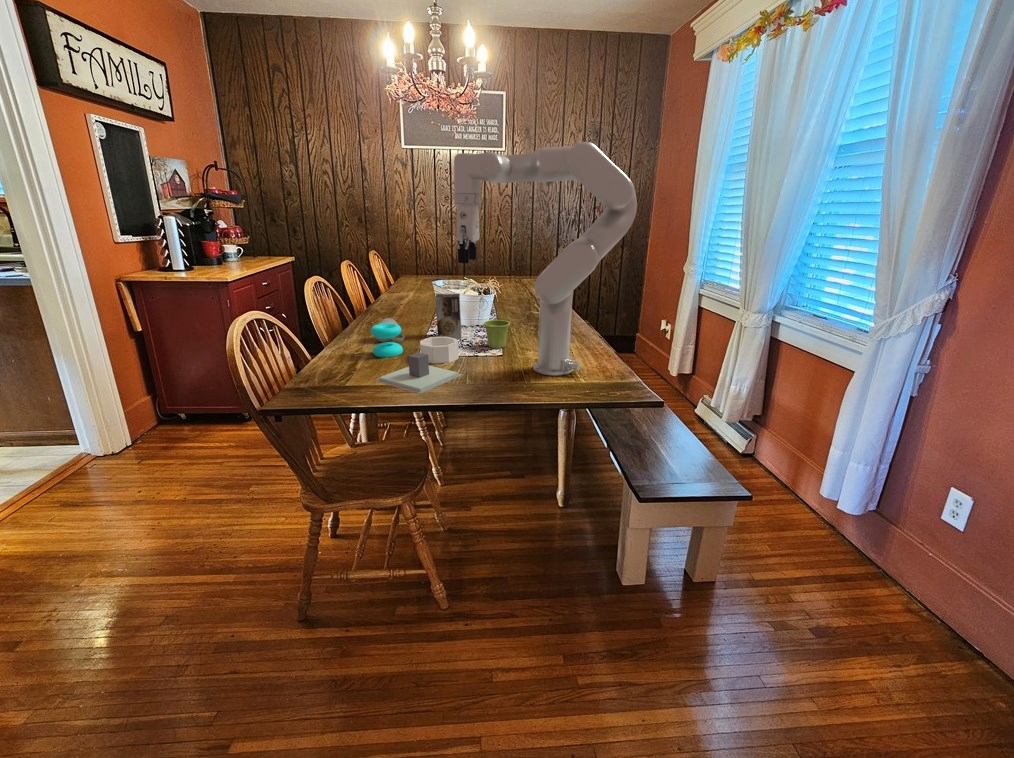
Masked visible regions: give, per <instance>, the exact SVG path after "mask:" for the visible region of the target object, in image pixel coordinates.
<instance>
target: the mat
mask: <svg viewBox="0 0 1014 758" xmlns="http://www.w3.org/2000/svg"><path fill="white" fill-rule="evenodd" d="M462 376H463V374H462V373H458V375H457V376H455V377H453V378H450V379H448V380H446V381H443V382H441V383H439V384H437V385H434V386H432V387H430V388H428V389H425V390H423V391H417V390H414V389H410V388H407V387H403V386H400V385H396V384H392V383H389V382H385V381H382V380H380V377H378V378H376V379H374V381H375V382H379V383H383V384H386V385H389V386H393V387H397V388H400V389H403V390H407V391H409V392H414V393H418V394H423V393H426V392H427V391H430V390H432V389H435V388H437V387H440V386H441V385H444V384H445V383H447V382H450V381H452V380H454V379H456V378H459V377H462Z"/></svg>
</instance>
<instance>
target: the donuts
mask: <svg viewBox="0 0 1014 758" xmlns="http://www.w3.org/2000/svg"><path fill="white" fill-rule="evenodd" d="M377 324H378V323H377ZM377 324H374V325H373V326H371V328H370V333H371V335H372V336H373V337H374V336H375V337H377V338H393V337H396V338H397V336H398V335H399V334H400V333H402V328H401V326H400V325H399V324H398V323H397V324H398V325H397V324H392V323H384V324H378V325H377ZM375 337H374V338H375ZM398 337H399V336H398ZM403 351H404V349H403V346H402V345H401V344H399V343H397V342H394V341H392V342H391V341H390V342H389V341H387V342H380V343H378V344H376V345H375V346H374V347H373V348H372V354H373V356H374V357H377V358H383V359H384V358H390V357H391V358H392V357H396V356H399V355H401V354H403Z"/></svg>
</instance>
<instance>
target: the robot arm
mask: <svg viewBox="0 0 1014 758" xmlns="http://www.w3.org/2000/svg"><path fill="white" fill-rule="evenodd" d="M453 165H454V166H453V175H454V176H453V177H454V178H453V183H454V184H453V185H454V190H453V191H454V194H453V195H454V199H453V200H454V201H453V202H454V206H456V207H457V209H456V211H457V212H456V239H457V263H458V264H469V263H470V260H477V241H479V240H480V214H479V207H481V189H482V187H481V183H482V181H484V182H488V183H494V184H510V183H529V182H531V183H532V182H534V183H535V182H536V183H545V182H546V183H548V182H563V181H578V182H579V183H580V184H582V186H584V188H586V189H587V191H588V192H590V193H591V194H592V195H593V196H594V197H595V198H596V199H597V200H598V201H599V202H601V204H602V205H603V206H605V208H604V210H603V212H602V213H601V214H600V216H599V217H598V218H597V219H596V220H595V221H594V222H593V223H592V224H591V226H589V228H588V229H587V230H586V231H585V232H584V233H582V235H581V236H579V237H578V238H577V239H575V240H574V241H572V242H570V243H569V244H568V245H567V246H566V247H565V248H564V249H563V250H562V251H561V252H560V253H559V254H558V255H557V256H556V257H555V258H554V259H553V260H552V261H551V262H550V263H549V264H548V265H547V266H546V268H544V269H543V271H542V272H540V274H539V275H538V276H537V277H536V279H535V283H534V293H535V295H536V297H537V299H538V300H539V315H538V316H539V317H538V344H537V345H538V346H537V347H538V351H537V352H538V354H537V361H536V362H534V363H533V364H532V370H533V371H534V372H536V373H538V374H540V375H546V376H565V375H569V374H571V373H572V372H573V371H574V370H575V371H579V370H580V369H581V365H580V361H576V360H575V361H574V360H573V355H571V354H570V347H571V345H570V343H571V328H572V327H571V324H572V323H571V322H572V310H573V298H574V297H573V296H574V290H575V289H576V288H577V287H578V286H579V285H581V283H583V281H584V280H586V279H587V278H588V277H589V275H591V274H592V273H593V271H595V269H596V268H597V266H598V265H599V263H600V261H601V260H603V258H604V257H605V256H606V255H607V254H608V253H609V252H610V251H611V250H612V249H613V248H614V247H615V246H616V245H617V244H618V243H619V242H620V240H621V239H622V238H623V237H625V235H626V234H627V232H628V231H629V229H630V228H631V227H632V225H633V223H634V221H635V218H636V214H637V209H638V208H637V207H638V203H637V194H636V190H635V185H634V184H633V181H632V180H631V179H630V178H629V177H628V176H627V174H625V173H624V172H623V171H622V170H621V169H620V168H619V167H618V166H617V165H615V163H613V161H611V159H609V157H607V156H606V155H605V154H604V152H603V151H601V149H600V148H599V147H598V146H597V145H595V144H594V143H592V142H589V141H582V142H578V143H576V144H575V145H568V146H567V145H566V146H552V147H550V146H549V147H548V146H547V147H541V148H537V149H536V150H534V151H532V152H528V153H521V154H505V155H503V154H499V153H496V152H493V151H492V152H491V151H489V152H488V151H487V152H481V153H469V152H462V153H461V152H459V153H457V154H456V155H455V156H454V158H453Z"/></svg>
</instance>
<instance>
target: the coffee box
mask: <svg viewBox="0 0 1014 758" xmlns="http://www.w3.org/2000/svg"><path fill="white" fill-rule="evenodd" d="M435 310H436V311H435V312H436V327H437V328H436V329H437V337H450V338H456V339H461V338H462V334H463V333H462V317H461V316H462V315H461V311H462V310H461V294H460V293H437V294H435Z"/></svg>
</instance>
